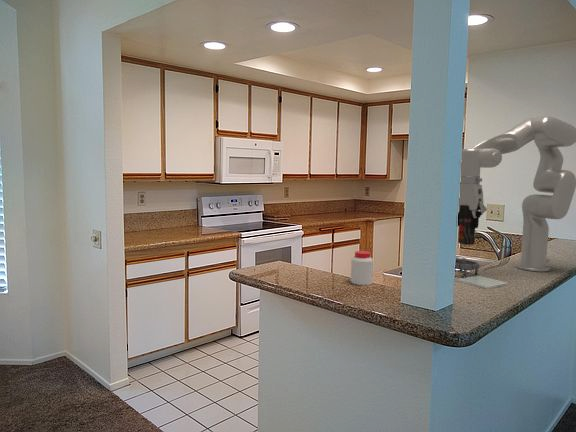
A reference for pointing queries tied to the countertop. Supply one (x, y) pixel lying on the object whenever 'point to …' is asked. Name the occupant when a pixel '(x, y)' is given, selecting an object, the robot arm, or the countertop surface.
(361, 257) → the pill bottle
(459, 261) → the ring stand
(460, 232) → the deodorant
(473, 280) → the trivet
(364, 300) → the countertop surface
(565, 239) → the countertop surface
